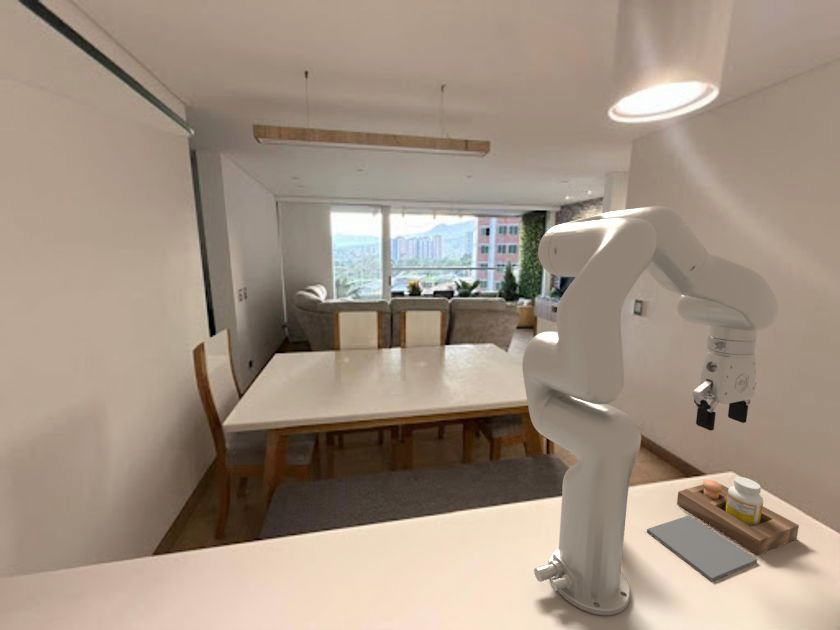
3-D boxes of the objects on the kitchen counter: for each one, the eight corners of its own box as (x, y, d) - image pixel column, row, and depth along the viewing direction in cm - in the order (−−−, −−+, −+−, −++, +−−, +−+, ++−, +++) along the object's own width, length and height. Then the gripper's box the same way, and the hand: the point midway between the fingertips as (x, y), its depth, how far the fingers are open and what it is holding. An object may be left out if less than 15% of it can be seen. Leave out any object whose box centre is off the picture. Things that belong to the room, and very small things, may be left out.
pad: (711, 581, 61) (711, 578, 61) (646, 531, 72) (647, 528, 72) (756, 562, 65) (757, 559, 65) (688, 517, 76) (689, 515, 76)
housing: (757, 555, 66) (759, 540, 66) (676, 503, 80) (678, 491, 80) (796, 538, 70) (798, 525, 70) (713, 492, 84) (714, 480, 84)
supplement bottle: (741, 536, 71) (748, 491, 70) (717, 517, 76) (722, 475, 75) (766, 533, 72) (773, 490, 70) (740, 515, 77) (746, 474, 75)
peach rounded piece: (713, 506, 77) (715, 489, 77) (697, 497, 80) (699, 481, 80) (723, 503, 78) (725, 486, 78) (707, 494, 81) (709, 478, 81)
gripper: (720, 354, 67) (711, 439, 70) (780, 345, 73) (769, 424, 75) (681, 345, 75) (673, 422, 77) (738, 338, 80) (729, 410, 82)
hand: (720, 423), depth 76 cm, fingers open, 9 cm apart
